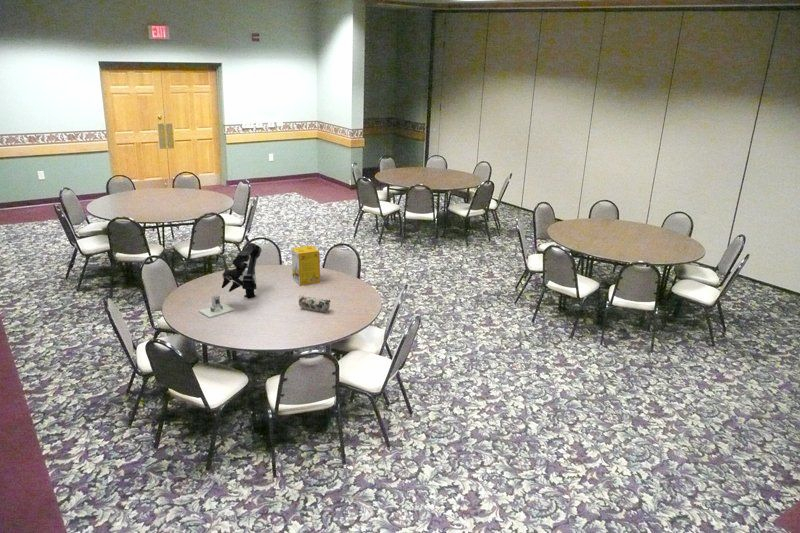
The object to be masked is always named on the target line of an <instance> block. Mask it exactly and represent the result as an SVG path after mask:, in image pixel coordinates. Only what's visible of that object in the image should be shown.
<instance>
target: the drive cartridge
mask: <svg viewBox="0 0 800 533" xmlns="http://www.w3.org/2000/svg"><path fill="white" fill-rule="evenodd" d="M210 297H211V307H212V308H214V311H215V312H216V311H219V310H221V306H220V304H221V297H220V295H219V294H214V295H211V296H210Z"/></svg>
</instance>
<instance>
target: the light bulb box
mask: <svg viewBox="0 0 800 533" xmlns="http://www.w3.org/2000/svg"><path fill="white" fill-rule="evenodd" d="M247 270H248V268H246V269H245V270H244V272H243V273H242V274H243V276H240V278H239V279H240V280H241V281H243V277H244V276H246V275H247ZM253 278H254V280H255V281H256V280H257V279H256V278H257V276H256V269H255V270H254V275H253Z"/></svg>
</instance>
